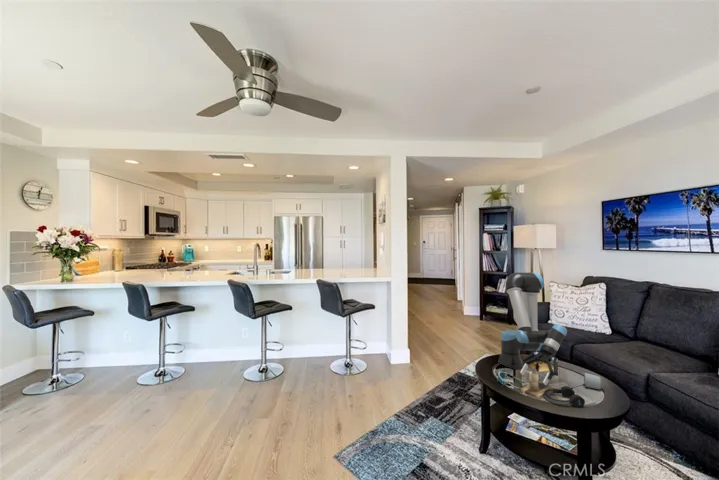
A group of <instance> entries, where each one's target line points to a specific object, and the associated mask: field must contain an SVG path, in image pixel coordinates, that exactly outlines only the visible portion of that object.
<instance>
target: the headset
mask: <svg viewBox="0 0 719 480" xmlns="http://www.w3.org/2000/svg"><path fill="white" fill-rule="evenodd" d="M581 386H583V387H585V386H586V384H584V383H583V384H581V385H577V386H573V387H570V386H567V385H564V386H562V387H560V389H559V388H558V389H556V388H554V389H549V390H546V391H545V392H544V396H543V397H544V399H545V400H546V401H548V402H549V403H551V404H554V405H558V406H570V405H573V406H574V407H576V408H583V407H584V406H585V404H586V400H585V399H584V397H582V396H581V395H579V394H576V392H575V391H574V389H575V388H577V387H581ZM553 394H560V395H562V397H564V398H566V399H567V400H564V399H558V398H557V399H556V398H553V397H551V396H549V395H553Z"/></svg>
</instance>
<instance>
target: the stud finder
mask: <svg viewBox="0 0 719 480" xmlns="http://www.w3.org/2000/svg"><path fill="white" fill-rule="evenodd" d="M543 381H544V379H541V378H539V387H540V388H543V389H545V388H546V387H548V386H550V382H548V383H547V385H545V384H544V383H543Z"/></svg>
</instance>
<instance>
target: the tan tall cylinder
mask: <svg viewBox="0 0 719 480" xmlns="http://www.w3.org/2000/svg"><path fill="white" fill-rule="evenodd" d="M539 379H540V378H539V372H537V371H536V367H535V366H532V370H531V371H529V384H530V390H531V391H534V392H538V391H539Z"/></svg>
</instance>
